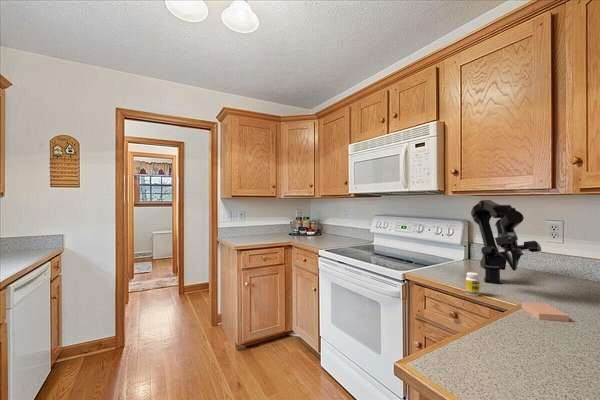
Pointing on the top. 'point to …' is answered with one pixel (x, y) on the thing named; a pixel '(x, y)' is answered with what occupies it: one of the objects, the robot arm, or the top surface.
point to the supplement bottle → (472, 284)
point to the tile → (545, 311)
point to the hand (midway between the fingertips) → (514, 270)
